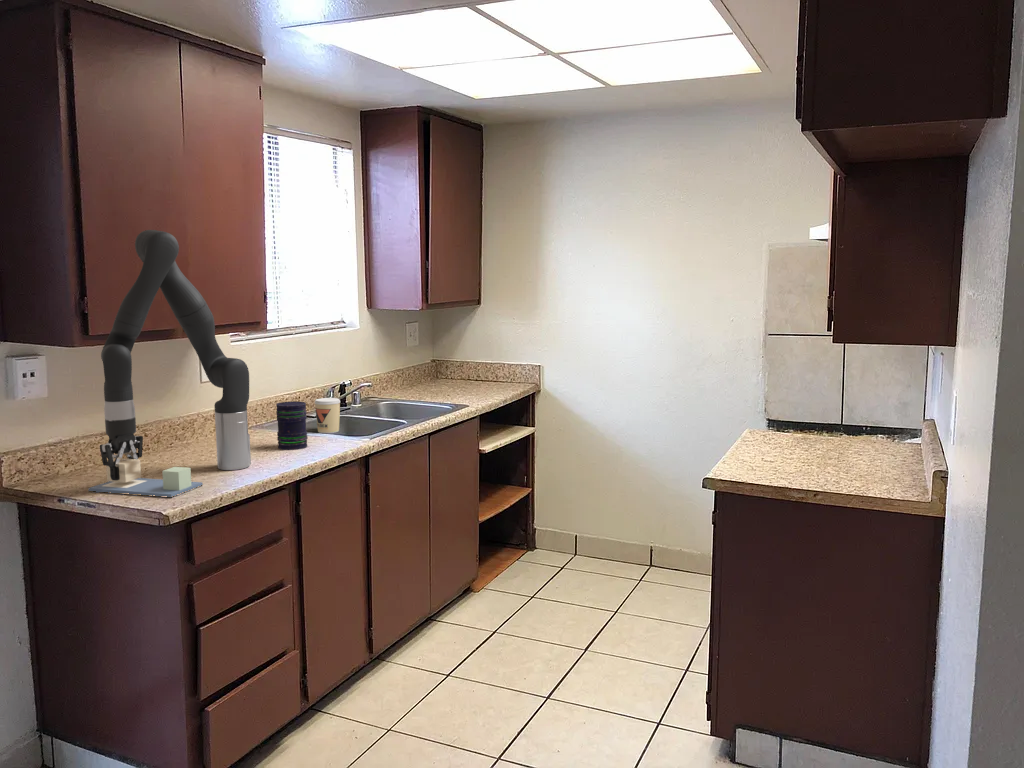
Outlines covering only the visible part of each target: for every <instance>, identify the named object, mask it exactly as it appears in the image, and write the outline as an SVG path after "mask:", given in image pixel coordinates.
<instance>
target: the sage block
mask: <svg viewBox="0 0 1024 768" xmlns="http://www.w3.org/2000/svg"><path fill="white" fill-rule="evenodd" d="M191 470H192V468H191V467H183V466H182V467H181V466H173V467H169V468H167V469H164V470H162V471H161V472H162V480H163V489H166V490H182V489H185V488H187V487H190V486H192V485H191V482H192V472H191Z"/></svg>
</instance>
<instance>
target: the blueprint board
mask: <svg viewBox="0 0 1024 768" xmlns="http://www.w3.org/2000/svg"><path fill="white" fill-rule="evenodd" d="M191 485H192V486H190V487H187V488H185V489H182V490H166V489H163V478H162V479H160V478H159V479H158V478H148V477H147V478H146V477H141V478H138V479H135V480H132V481H129V482H112V481H107V482H104V483H99V484H97V485H94V486H91V487H88V492H89V491H96V492H95V493H99V492H108V493H107V494H111V493H129V494H141V495H152V496H153V495H155V496H167V497H172V496H175V495H177V494H180V493H182V492H185V491H188V490H191V489H193V488H196V487H198V486H201V485H203V482H202V481H201V482H200V481H191ZM201 487H202V486H201ZM196 489H197V488H196ZM191 491H192V490H191ZM109 492H111V493H109ZM188 492H189V491H188Z"/></svg>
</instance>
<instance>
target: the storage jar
mask: <svg viewBox="0 0 1024 768" xmlns="http://www.w3.org/2000/svg"><path fill="white" fill-rule="evenodd" d="M275 404H276V406H275V407H276V412H275V413H276V421H277V436H276V437H277V441H278V442H277V444H278V446H277V448H279V449H278V450H281V449H282V451H283V450H284V451H296V450H298V451H299V450H303V449H305V448H307V447H308V430H307V416H308V415H307V412H308V411H307V407H306V406H307V403H306V402H305V401H298V400H297V401H296V400H295V401H291V400H290V401H282V402H278V403H275Z"/></svg>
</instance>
